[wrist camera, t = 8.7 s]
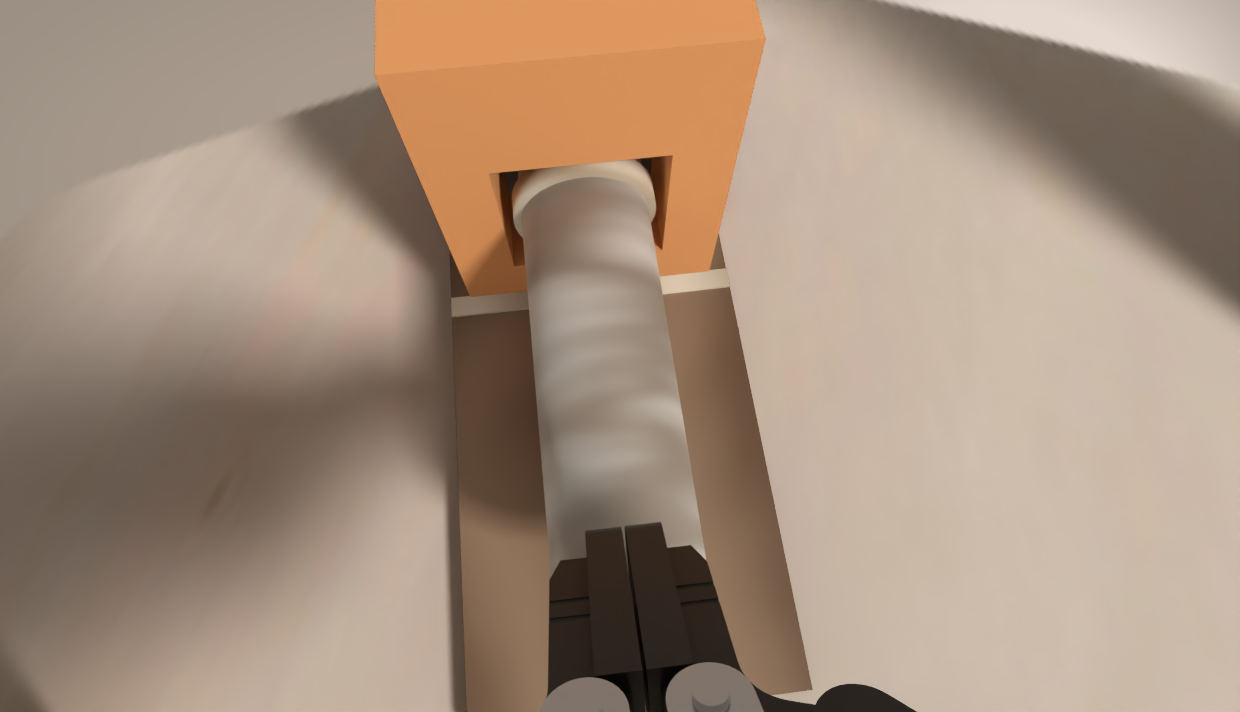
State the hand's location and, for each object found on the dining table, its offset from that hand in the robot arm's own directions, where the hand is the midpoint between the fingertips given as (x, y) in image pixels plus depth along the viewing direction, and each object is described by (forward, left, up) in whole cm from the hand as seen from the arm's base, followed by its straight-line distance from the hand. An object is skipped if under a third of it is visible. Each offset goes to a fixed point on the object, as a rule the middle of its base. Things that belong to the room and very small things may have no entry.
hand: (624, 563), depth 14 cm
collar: (0, -13, -9) cm, 15 cm away
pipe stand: (0, -8, -12) cm, 14 cm away
